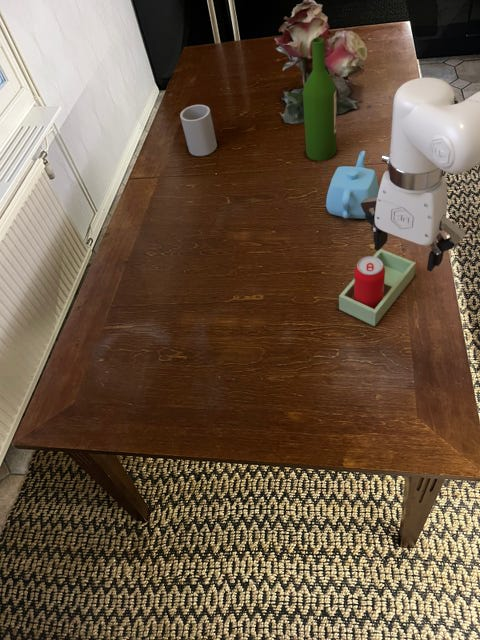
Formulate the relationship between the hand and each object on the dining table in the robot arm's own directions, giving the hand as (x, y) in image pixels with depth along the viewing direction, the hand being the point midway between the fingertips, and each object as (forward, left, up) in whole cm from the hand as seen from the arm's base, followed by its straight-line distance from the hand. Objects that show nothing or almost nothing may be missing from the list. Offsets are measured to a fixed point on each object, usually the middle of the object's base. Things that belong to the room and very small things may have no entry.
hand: (406, 255), depth 89 cm
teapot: (+32, -36, -28) cm, 56 cm away
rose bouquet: (+71, -77, -28) cm, 108 cm away
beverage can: (+11, -8, -27) cm, 30 cm away
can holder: (+11, -12, -28) cm, 32 cm away
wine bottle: (+53, -52, -28) cm, 79 cm away
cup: (+88, -37, -28) cm, 99 cm away
